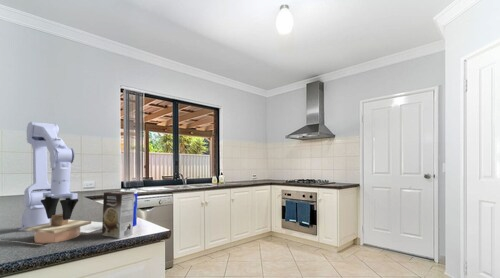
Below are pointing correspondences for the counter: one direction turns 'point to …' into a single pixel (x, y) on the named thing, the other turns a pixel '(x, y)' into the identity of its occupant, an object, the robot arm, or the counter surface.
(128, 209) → the coffee box
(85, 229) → the mat
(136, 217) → the beverage can
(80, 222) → the lid
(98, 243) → the counter surface
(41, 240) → the bowl
